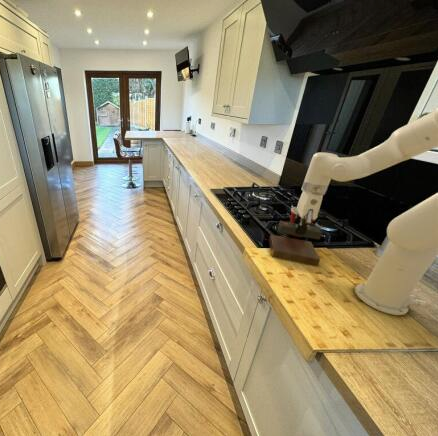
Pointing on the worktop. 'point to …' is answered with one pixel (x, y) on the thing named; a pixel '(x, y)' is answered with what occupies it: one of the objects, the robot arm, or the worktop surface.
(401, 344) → the worktop surface
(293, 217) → the plastic cup
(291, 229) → the remote
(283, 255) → the block
